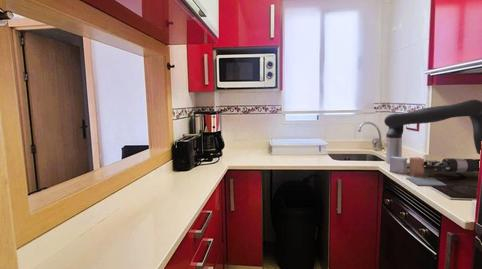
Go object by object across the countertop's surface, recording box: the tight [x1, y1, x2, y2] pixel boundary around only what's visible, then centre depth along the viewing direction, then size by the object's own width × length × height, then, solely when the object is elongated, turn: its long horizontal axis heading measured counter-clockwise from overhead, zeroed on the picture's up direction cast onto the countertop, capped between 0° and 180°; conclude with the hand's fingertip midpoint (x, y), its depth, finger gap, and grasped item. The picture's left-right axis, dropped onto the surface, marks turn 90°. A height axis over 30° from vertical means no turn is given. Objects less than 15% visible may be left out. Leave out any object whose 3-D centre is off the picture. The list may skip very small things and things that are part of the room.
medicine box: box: [389, 156, 408, 174], centre depth 162 cm, size 8×4×9 cm, turn 41°
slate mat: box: [405, 177, 447, 187], centre depth 142 cm, size 13×13×1 cm
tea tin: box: [408, 156, 425, 178], centre depth 153 cm, size 5×5×10 cm
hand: (422, 165), depth 152 cm, fingers open, 8 cm apart
